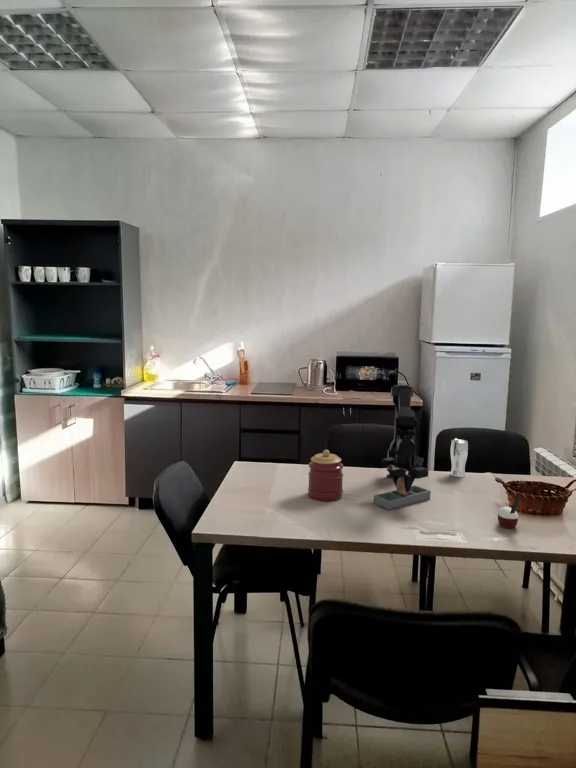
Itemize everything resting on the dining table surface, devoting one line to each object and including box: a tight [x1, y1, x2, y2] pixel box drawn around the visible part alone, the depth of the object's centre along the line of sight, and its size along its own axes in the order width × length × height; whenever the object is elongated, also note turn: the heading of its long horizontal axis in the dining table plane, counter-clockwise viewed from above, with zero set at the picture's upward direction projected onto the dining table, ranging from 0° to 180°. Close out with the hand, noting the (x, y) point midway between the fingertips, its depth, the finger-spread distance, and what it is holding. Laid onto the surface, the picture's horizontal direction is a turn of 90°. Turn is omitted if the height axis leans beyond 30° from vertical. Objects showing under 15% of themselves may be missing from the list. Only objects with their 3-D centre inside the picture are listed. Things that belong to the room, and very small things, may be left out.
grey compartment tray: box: [372, 484, 432, 511], centre depth 199 cm, size 8×22×3 cm, turn 124°
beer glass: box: [449, 438, 469, 478], centre depth 231 cm, size 7×7×15 cm
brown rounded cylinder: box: [396, 476, 409, 497], centre depth 198 cm, size 4×4×7 cm
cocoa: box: [497, 494, 522, 529], centre depth 176 cm, size 10×6×12 cm, turn 169°
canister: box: [307, 449, 344, 502], centre depth 203 cm, size 13×13×18 cm
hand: (402, 490), depth 198 cm, fingers closed on brown rounded cylinder, 4 cm apart
